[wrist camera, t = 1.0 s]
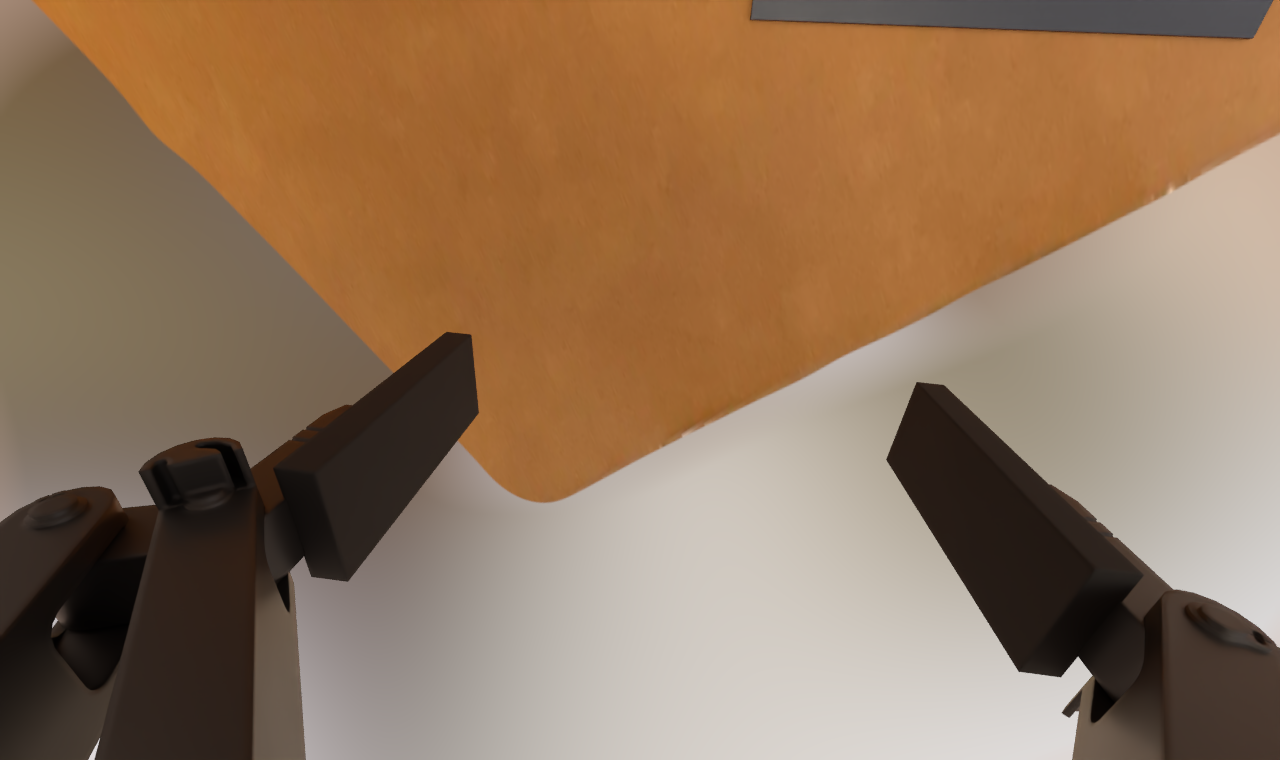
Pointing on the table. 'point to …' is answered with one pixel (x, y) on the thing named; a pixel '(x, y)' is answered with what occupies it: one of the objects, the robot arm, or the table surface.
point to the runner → (1035, 15)
